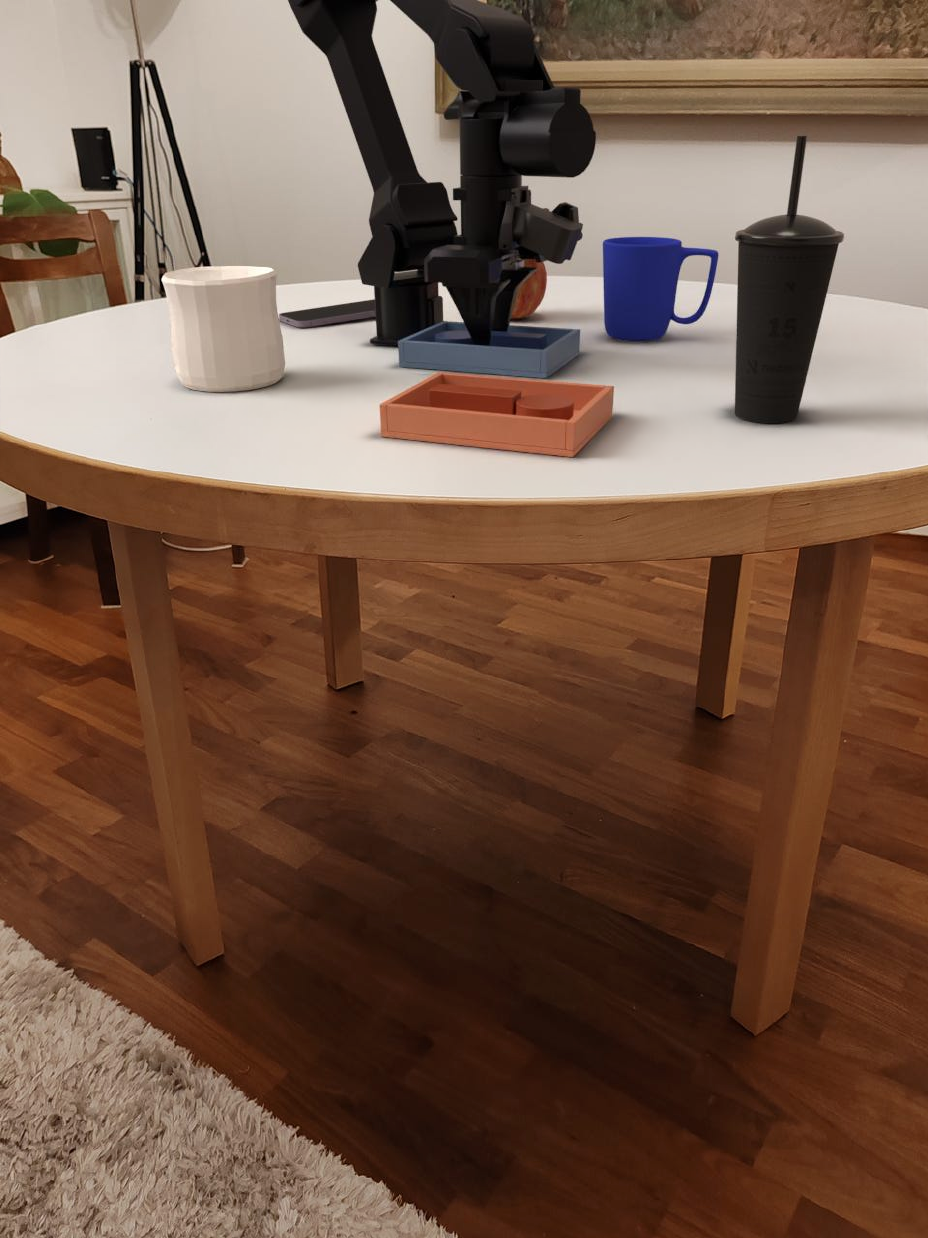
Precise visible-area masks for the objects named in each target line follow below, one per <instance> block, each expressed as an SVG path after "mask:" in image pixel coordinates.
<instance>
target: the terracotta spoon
mask: <svg viewBox="0 0 928 1238" xmlns="http://www.w3.org/2000/svg"><path fill="white" fill-rule="evenodd" d="M429 398H430V407H435V408H445V409H456V410H467V411H477V412H488V413H499V414H509V415H520V416H531V417H541V418H552V419H563V420H568V421H569V420H570V419H571V418H572V417H573V414H574V401H573V400H572V399H571V398H568V397H565V396H560V395H552V394H537V395H529V396H524V397H521V391H516V390H504V389H492V388H481V387H469V386H457V385H445V384H438V385H437V386H435V387H433V388H432V389H430V390H429Z"/></svg>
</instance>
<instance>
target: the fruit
mask: <svg viewBox="0 0 928 1238" xmlns="http://www.w3.org/2000/svg"><path fill="white" fill-rule="evenodd" d="M520 260H524V267H536V268H537V270H536V272H535V273H533V274H532V275H531V276H530V277H529V278H528V279H527V280H526V281H525V282H524V283H523V284H522V285H521V286H520V288H519V291H518V294H517V297H516V301H515V304H514V308H513V312H512V316H511V320H512V319H524V318H527V317H529V316H531V315H532V314H534V312H536V310H537V309H538V308H539V306H540V305H541V304H542V302H543V300H544V298H545V294H546V291H547V285H548V284H547V282H548V275H547V274H548V273H547V269H546V264H545V263H544V262H542V263H537V262H536V261H535V259H520Z"/></svg>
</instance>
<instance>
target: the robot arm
mask: <svg viewBox="0 0 928 1238" xmlns="http://www.w3.org/2000/svg"><path fill="white" fill-rule="evenodd" d="M389 1H390V2H391V3H392V4H393V5H394V6H395V7H396V8H398V9H399V11H401V12H402V13H403V15H405V16H406V17H407V18H409V19H410V20H411V21H412V22H413V23H414V24H415V25H416V26H418V28H419V29H421V31H423V33H425V34H426V35H427V36H428V37H429V39H430V40H431V42H432V43H433V48H434V56H435V57H434V58H435V59H436V61H437V63H438V64H439V66H440V68H442V69H443V72H444V73H445V74H446V75H447V77H448V78H449V80H450V81H451V82H452V84H453V85H455V87H456V88H458V89H460V90H459V91H458V93H457V95H456V97H455V99H454V100H453V101H452V102H451V103H450V104H449V105H448V106H447V108H446V109H445V110H444V112H443V119H445V120H446V121H459V171H460V172H459V179H460V180H459V181H460V182H459V183H460V184H459V187H454V188H452V201H460V234H459V233H458V230H457V226H456V223H455V222H457V221H458V216H457V215H456V213H455V212H454V210H453V208H452V206H451V202H450V198H449V194H448V191H447V188H446V186H445V184H444V183H443V182H442V181H432V182H431V181H430V182H428V181H426V179H425V178H423V176H422V175H420V173H419V170H418V168H417V167H418V166H417V164H416V162H415V158H414V156H413V153H412V151H411V147H410V145H409V141H408V138H407V136H406V132H405V130H404V126H403V124H402V121H401V118H400V115H399V113H398V109H397V107H396V104H395V100H394V98H393V95H392V92H391V89H390V86H389V83H388V80H387V77H386V74H385V72H384V69H383V66H382V63H381V60H380V57H379V54H378V52H377V48H376V45H375V43H374V39H373V38H374V37H373V34H374V33H373V32H374V27H375V23H376V17H377V12H378V5H377V2H379V0H287V2H288V4H289V8H290V9H291V11H292V13H293V15H294V17H295V20H296V22H297V24H298V26H299V28H300V30H301V32H302V33H303V34H304V36H306V37H307V39H309V40H310V42H312V44H313V45H315V46H316V47H317V48H318V49H319V50H320V51H321V52H322V53H323V54H324V56H325V57H326V60H327V61H328V64H329V67H330V70H331V72H332V76H333V78H334V82H335V84H336V87H337V90H338V93H339V96H340V99H341V101H342V105H343V107H344V110H345V113H346V115H347V118H348V121H349V124H350V127H351V130H352V133H353V136H354V138H355V142H356V145H357V147H358V150H359V153H360V156H361V159H362V162H363V164H364V167H365V170H366V173H367V176H368V178H369V182H370V185H371V187H372V192H373V197H372V201H371V207H370V212H369V217H368V224H369V227H370V228H369V229H370V232H371V238H370V240H369V242H368V244H367V246H366V248H365V249H364V251H363V253H362V255H361V257H360V259H359V260H358V262H357V269H358V273H359V277H360V282H361V284H362V285H364V286H370V287H373V295H374V299H375V314H376V316H375V330H376V336H374V337H372V338H370V339H369V344H371V345H382V346H397V347H398V341H399V340H402V339H404V338H406V337H408V336H411V335H413V334H415V333H418V332H420V331H422V330H424V329H427V328H429V327H431V326H433V325H436V324H438V323H440V322H442V321H444V298H443V296H441V295H439V284H441V286H442V287H444V288H446V290H447V292H448V293H449V296H450V298H451V299H452V301H453V304H454V305H455V307H456V309H457V311H458V313H459V315H460V317H461V319H462V322H464V323H465V326H466V328H467V330H468V332H469V334H470V336H471V339H472V341H473V343H474V345H482V346H490V340H491V334H492V331H500V332H507V331H508V327H509V325H510V324H511V320H512V319H511V316H512V312H513V308H514V304H515V301H516V297H517V294H518V291H519V288H520V286H521V285H522V284H523V283H524V282H525V281H526V280H527V279H528V278H529V277H530V276H531V275H532V274H533V273H535V272H536V270H537V268H536V267H524V260H520V259H535V261H536V262H537V263H542V262H543V263H544V262H547V261H548V262H551V263H553V264H557V265H563V264H564V262H565V261H571V260H572V257H573V254H574V252H575V249H576V247H577V245H578V242H579V241H581V240H582V239H583V232H582V231H583V228H584V227H583V226H584V224H583V223H582V222H580V216H579V215H580V214H579V207H578V206H575V205H573V204H571V203H568V202H566V201H563V202H560V203H559V204H557V205H556V206H555V207H554V208H553V209H552V210H551V211H550V209H549V208H547V207H543V208H542V207H540V206H538V205H535V204H532V190H531V189H529V185H523V177H541V178H543V177H544V178H547V177H548V178H576V177H578V176H580V175H582V174H583V173H585V171H586V170H587V168H588V167H589V166H590V163H591V162H592V159H593V157H594V155H595V154H594V153H595V150H596V142H597V132H596V130H595V129H594V124H593V120H592V117H591V114H590V113H589V111H588V109H587V108H586V107H585V106H584V105H583V104H581V92H582V91H581V90H582V89H581V88H580V87H579V86H577V87H576V86H559V87H558V86H557V87H555V85H554V83H553V81H552V78H551V77H550V75H549V72H548V70H547V68H546V65H545V64H544V62H543V60H542V57H541V55H540V53H539V50H538V48H537V46H536V44H535V42H534V41H535V38H536V37H535V32H534V29H533V28H532V26H531V25H530V24H529V22H528V21H527V20H525V19H523V18H522V17H520V16H518V15H516V14H514V13H512V12H510V11H508V10H506V9H504V8H502V7H499V6H496V5H494V4H493V5H492V4H491V3H487V2H483V1H481V0H389Z"/></svg>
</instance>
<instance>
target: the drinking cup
mask: <svg viewBox="0 0 928 1238" xmlns="http://www.w3.org/2000/svg"><path fill="white" fill-rule="evenodd" d="M807 139H808V135H797V136H796V141H795V149H794V156H793V164H792V173H791V180H790V186H789V187H790V188H789V194H788V195H789V196H788V203H787V209H786V210H787V211H786V214H780V215H774V216H770V217H767V218H763V219H760V220H757V221H756V222H754V223H752V224H750V225H749V226H747V227H746V228H744V229H740V230H737V231H736V232H735V236H734V240H735V241H737V242H738V243H737V244H738V245H737V246H738V247H737V248H738V251H737V258H738V259H737V288H736V289H737V294H736V295H737V296H736V302H737V303H736V331H735V332H736V336H735V339H736V340H735V378H734V379H735V383H734V415H735V416H736V417H737V418H739V419H741V420H744V421H748V422H752V423H759V424H783V423H789V422H793V421H795V420H796V419H797V418H798V415H799V410H800V407H801V402H802V398H803V394H804V389H805V387H806V381H807V377H808V373H809V370H810V366H811V362H812V356H813V352H814V349H815V344H816V340H817V336H818V333H819V329H820V324H821V319H822V315H823V311H824V307H825V303H826V298H827V295H828V290H829V286H830V282H831V278H832V274H833V270H834V265H835V262H836V257H837V253H838V249H839V244H841V243H843V241H844V239H845V234H844V232H842V231H840V230H837V229H836V228H834V227H832V226H831V225H829V224H828V223H827V222H824V220H821V219H818V218H814V217H812V216H808V215H802V214H798V206H799V200H800V199H799V198H800V191H801V186H802V185H801V184H802V177H803V170H804V163H805V155H806V149H807Z"/></svg>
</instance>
